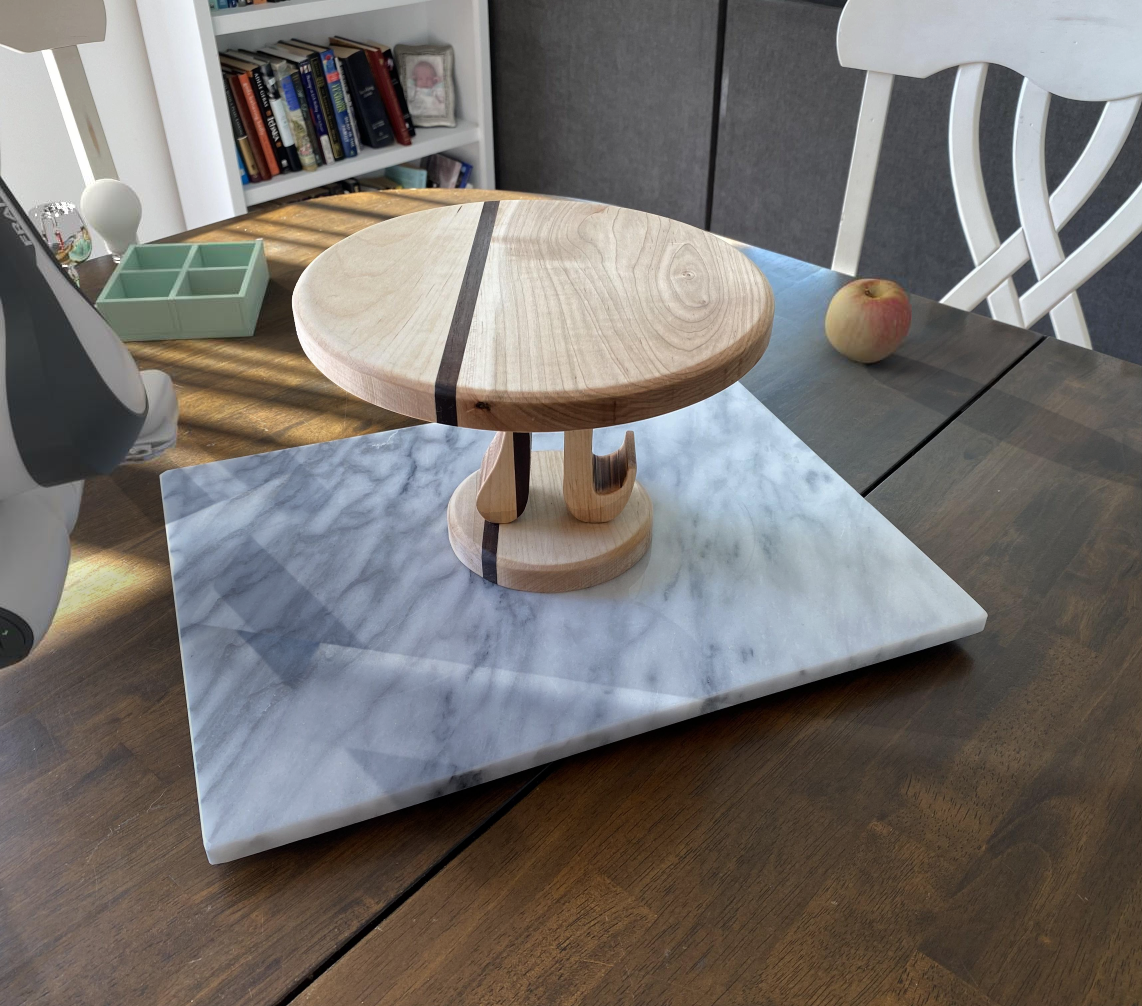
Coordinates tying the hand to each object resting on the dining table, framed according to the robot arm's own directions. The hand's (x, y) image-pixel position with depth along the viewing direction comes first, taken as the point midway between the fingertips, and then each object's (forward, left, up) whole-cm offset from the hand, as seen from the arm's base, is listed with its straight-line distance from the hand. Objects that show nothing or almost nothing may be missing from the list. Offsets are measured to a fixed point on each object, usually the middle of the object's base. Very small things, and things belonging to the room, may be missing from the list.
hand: (39, 373), depth 72 cm
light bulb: (-8, +49, -13) cm, 51 cm away
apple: (+76, +19, -13) cm, 79 cm away
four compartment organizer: (+2, +37, -13) cm, 39 cm away
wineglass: (-10, +37, -13) cm, 40 cm away
